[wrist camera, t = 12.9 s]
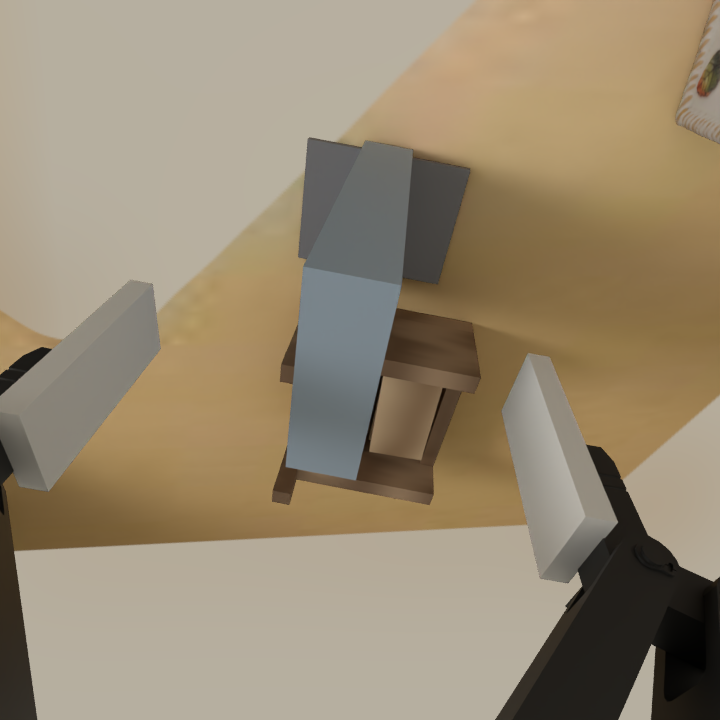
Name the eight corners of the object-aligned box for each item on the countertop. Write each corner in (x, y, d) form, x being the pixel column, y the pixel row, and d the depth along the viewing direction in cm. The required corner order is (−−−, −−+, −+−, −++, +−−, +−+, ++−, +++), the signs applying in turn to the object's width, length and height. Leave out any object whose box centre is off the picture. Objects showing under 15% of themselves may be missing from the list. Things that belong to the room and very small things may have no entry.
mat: (299, 254, 30) (298, 257, 29) (309, 137, 25) (307, 138, 25) (437, 281, 30) (437, 284, 29) (469, 168, 26) (470, 170, 25)
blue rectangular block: (345, 274, 30) (285, 466, 17) (365, 140, 25) (303, 266, 12) (385, 281, 30) (355, 480, 17) (413, 149, 25) (401, 285, 12)
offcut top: (371, 436, 35) (369, 451, 34) (387, 350, 30) (386, 364, 29) (421, 445, 35) (421, 460, 33) (445, 360, 30) (446, 374, 29)
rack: (298, 419, 38) (272, 501, 32) (311, 292, 31) (281, 364, 25) (428, 444, 38) (429, 531, 32) (471, 323, 31) (484, 403, 25)
